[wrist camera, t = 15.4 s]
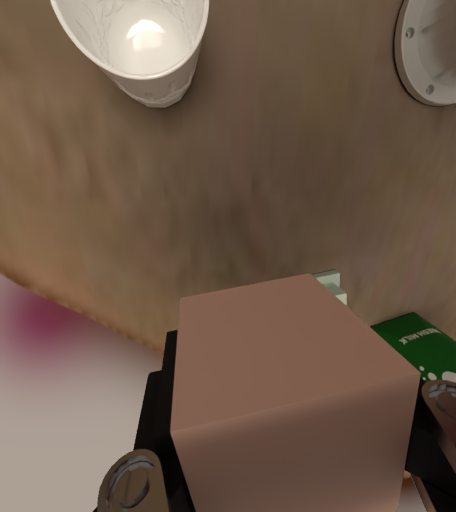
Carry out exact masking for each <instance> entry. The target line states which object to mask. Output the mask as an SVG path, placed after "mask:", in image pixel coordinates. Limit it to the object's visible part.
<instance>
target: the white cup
mask: <svg viewBox="0 0 456 512" xmlns="http://www.w3.org/2000/svg"><path fill="white" fill-rule="evenodd" d="M50 1H51V4H52V7H53V9H54V11H55V14H56V16H57V18H58V20H59V21H60V23H61V25H62V27H63V28H64V30H65V31H66V33H67V34H68V36H69V37H70V38H71V40H72V41H73V42H74V44H75V45H76V46H77V47H78V48H79V49H80V50H81V51H82V52H83V53H84V54H85V55H86V56H87V57H88V58H89V59H90V60H91V61H92V62H93V63H94V64H95V65H96V66H97V67H98V68H99V69H100V70H101V71H102V72H103V73H104V74H105V75H106V76H107V77H108V78H109V79H110V80H111V81H112V82H113V83H115V84H116V85H117V86H118V87H119V88H120V89H121V90H123V91H124V92H125V93H127V94H128V95H129V96H130V97H131V98H132V99H134V100H136V101H138V102H140V103H142V104H143V105H145V106H147V107H157V108H166V107H168V106H170V105H172V104H174V103H176V102H178V101H180V100H181V99H182V97H183V96H184V94H185V93H186V91H187V90H188V88H189V87H190V85H191V79H192V77H193V75H194V72H195V69H196V65H197V62H198V58H199V54H200V50H201V45H202V40H203V36H204V32H205V27H206V23H207V18H208V11H209V0H50Z"/></svg>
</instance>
